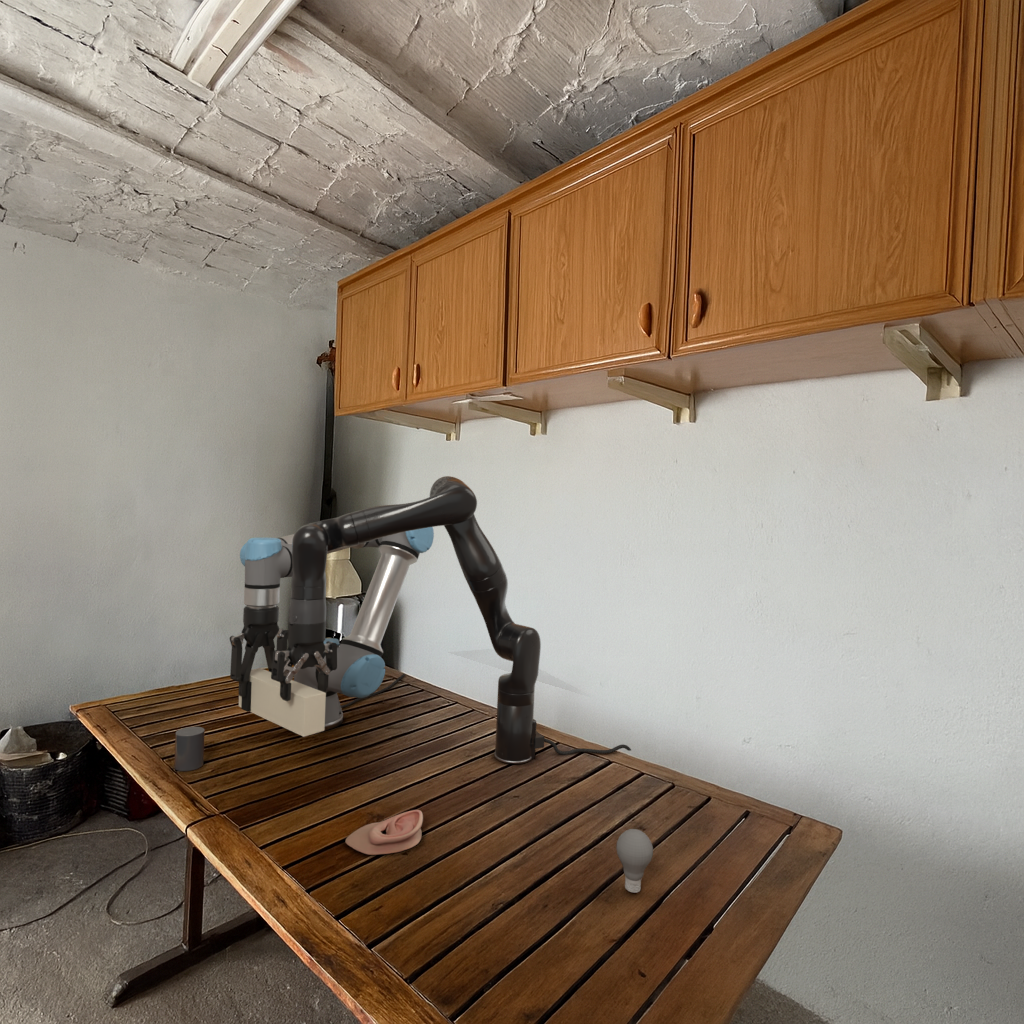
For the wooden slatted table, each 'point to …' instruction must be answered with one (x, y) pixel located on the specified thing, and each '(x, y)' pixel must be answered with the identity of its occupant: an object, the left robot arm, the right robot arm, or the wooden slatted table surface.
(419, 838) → the anatomical model
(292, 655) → the right robot arm
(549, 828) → the wooden slatted table surface
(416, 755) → the wooden slatted table surface
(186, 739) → the dark grey cylinder
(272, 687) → the plank
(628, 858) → the light bulb
